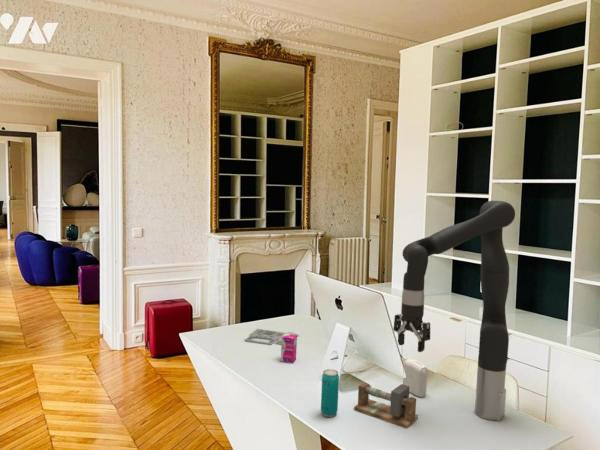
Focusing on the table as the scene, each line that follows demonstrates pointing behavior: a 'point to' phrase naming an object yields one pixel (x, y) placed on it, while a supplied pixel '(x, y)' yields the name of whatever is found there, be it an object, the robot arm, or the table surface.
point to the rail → (385, 406)
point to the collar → (398, 400)
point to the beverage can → (329, 393)
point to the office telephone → (267, 336)
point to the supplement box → (288, 348)
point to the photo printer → (415, 377)
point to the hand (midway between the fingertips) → (410, 348)
